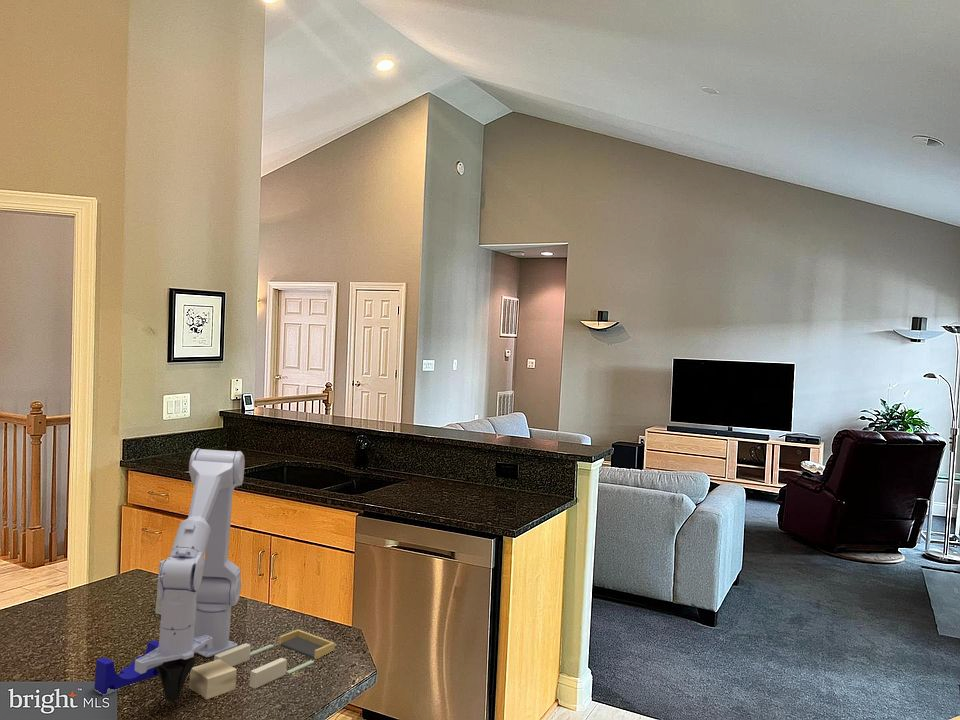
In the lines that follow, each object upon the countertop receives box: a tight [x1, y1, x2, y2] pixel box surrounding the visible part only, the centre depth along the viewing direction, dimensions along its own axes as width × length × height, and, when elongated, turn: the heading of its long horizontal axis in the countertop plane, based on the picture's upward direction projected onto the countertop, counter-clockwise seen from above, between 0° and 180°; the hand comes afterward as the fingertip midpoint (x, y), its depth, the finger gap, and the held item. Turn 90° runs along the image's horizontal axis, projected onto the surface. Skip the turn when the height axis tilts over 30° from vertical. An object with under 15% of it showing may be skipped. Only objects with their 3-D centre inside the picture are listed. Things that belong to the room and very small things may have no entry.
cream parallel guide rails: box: [213, 642, 288, 689], centre depth 145 cm, size 12×8×3 cm, turn 59°
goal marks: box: [250, 644, 315, 675], centre depth 152 cm, size 13×7×1 cm, turn 59°
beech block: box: [188, 659, 238, 700], centre depth 137 cm, size 6×6×4 cm
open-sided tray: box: [278, 629, 336, 660], centre depth 159 cm, size 11×6×2 cm, turn 59°
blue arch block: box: [94, 639, 160, 694], centre depth 138 cm, size 12×4×6 cm, turn 149°
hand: (171, 698), depth 130 cm, fingers closed
